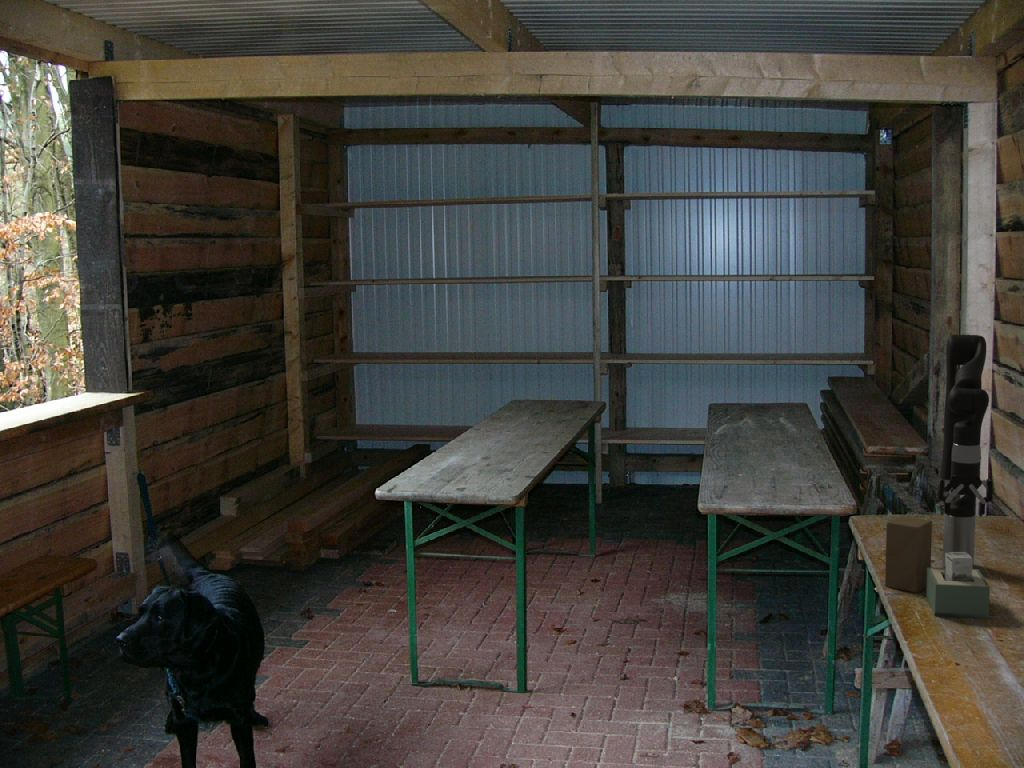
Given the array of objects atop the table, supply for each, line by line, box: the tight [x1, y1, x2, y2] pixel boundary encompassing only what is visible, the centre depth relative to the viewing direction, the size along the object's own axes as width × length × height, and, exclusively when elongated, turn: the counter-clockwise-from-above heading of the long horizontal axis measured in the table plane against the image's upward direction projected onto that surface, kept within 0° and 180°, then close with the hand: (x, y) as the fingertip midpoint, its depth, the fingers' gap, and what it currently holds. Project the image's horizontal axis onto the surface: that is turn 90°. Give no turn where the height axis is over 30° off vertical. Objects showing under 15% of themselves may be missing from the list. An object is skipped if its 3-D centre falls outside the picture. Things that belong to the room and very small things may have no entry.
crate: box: [925, 566, 991, 619], centre depth 318 cm, size 16×14×9 cm
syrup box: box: [944, 552, 973, 582], centre depth 317 cm, size 6×6×14 cm
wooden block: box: [884, 515, 933, 593], centre depth 337 cm, size 10×10×20 cm
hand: (964, 515), depth 316 cm, fingers open, 8 cm apart
